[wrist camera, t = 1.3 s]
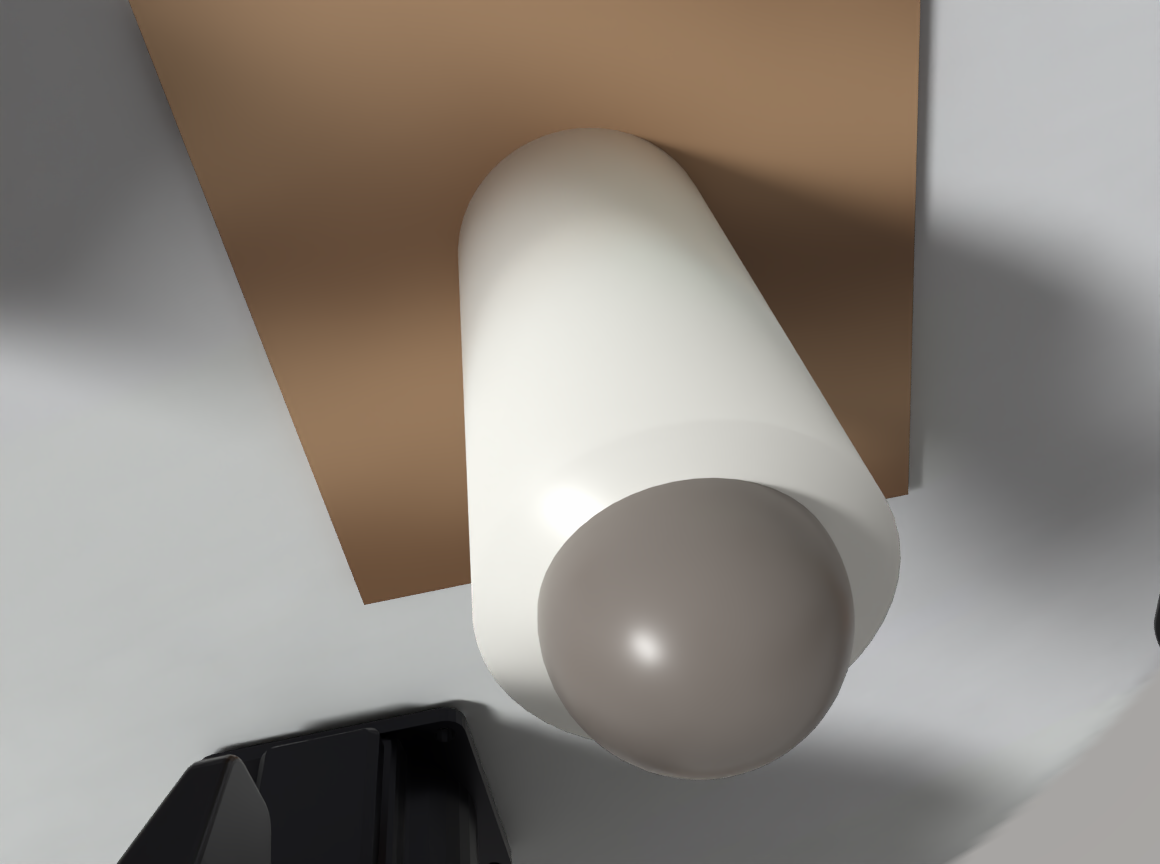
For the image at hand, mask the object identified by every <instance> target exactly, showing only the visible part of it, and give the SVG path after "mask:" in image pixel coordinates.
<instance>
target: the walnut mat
mask: <svg viewBox="0 0 1160 864" xmlns="http://www.w3.org/2000/svg"><path fill="white" fill-rule="evenodd" d="M129 3H130V5H131V8H132V11H133V13H134V16H135V18H136V21H137V23H138V26H139V29H140V31H141V34H142V36H143V39H144V41H145V44H146V46H147V49H148V52H149V54H150V57H151V59H152V62H153V64H154V67H155V70H156V72H157V75H158V77H159V80H160V82H161V85H162V87H163V90H164V93H165V95H166V98H167V100H168V103H169V105H170V108H171V111H172V113H173V116H174V118H175V121H176V123H177V126H178V129H179V131H180V134H181V136H182V139H183V141H184V144H185V146H186V149H187V152H188V154H189V157H190V159H191V162H192V164H193V167H194V170H195V172H196V175H197V177H198V180H199V182H200V185H201V187H202V190H203V193H204V195H205V198H206V200H207V203H208V205H209V208H210V211H211V213H212V216H213V218H214V221H215V223H216V226H217V228H218V231H219V234H220V236H221V239H222V241H223V244H224V246H225V249H226V252H227V254H228V257H229V259H230V262H231V264H232V267H233V269H234V272H235V275H236V277H237V280H238V282H239V285H240V287H241V290H242V293H243V295H244V298H245V300H246V303H247V305H248V308H249V310H250V313H251V316H252V318H253V321H254V323H255V326H256V328H257V331H258V334H259V336H260V339H261V341H262V344H263V346H264V349H265V351H266V354H267V357H268V359H269V362H270V364H271V367H272V369H273V372H274V375H275V377H276V380H277V382H278V385H279V387H280V390H281V392H282V395H283V398H284V400H285V403H286V405H287V408H288V410H289V413H290V416H291V418H292V421H293V423H294V426H295V428H296V431H297V434H298V436H299V439H300V441H301V444H302V446H303V449H304V451H305V454H306V457H307V459H308V462H309V464H310V467H311V469H312V472H313V475H314V477H315V480H316V482H317V485H318V487H319V490H320V492H321V495H322V498H323V500H324V503H325V505H326V508H327V510H328V513H329V516H330V518H331V521H332V523H333V526H334V528H335V531H336V533H337V536H338V539H339V541H340V544H341V546H342V549H343V551H344V554H345V557H346V559H347V562H348V564H349V567H350V569H351V572H352V574H353V577H354V580H355V582H356V585H357V587H358V590H359V592H360V595H361V598H362V600H363V603H364V605H366V604H371V603H376V602H381V601H385V600H390V599H395V598H400V597H405V596H410V595H415V594H420V593H425V592H430V591H435V590H440V589H445V588H449V587H454V586H459V585H464V584H469V583H471V566H470V541H469V516H468V491H467V466H466V441H465V416H464V391H463V366H462V341H461V316H460V291H459V266H458V243H459V233H460V229H461V225H462V221H463V217H464V215H465V212H466V210H467V207H468V205H469V202H470V200H471V199H472V197H473V195H474V193H475V192H476V190H477V188H478V187H479V185H480V184H481V183H482V181H483V180H484V179H485V177H486V176H487V175H488V174H489V173H490V172H491V171H492V170H493V169H494V168H495V167H496V166H497V165H498V164H499V163H500V162H501V161H502V160H503V159H504V158H506V157H507V156H508V155H510V154H511V153H512V152H514V151H515V150H517V149H518V148H520V147H522V146H524V145H525V144H527V143H529V142H531V141H533V140H536V139H538V138H540V137H543V136H545V135H548V134H552V133H556V132H560V131H563V130H570V129H578V128H603V129H611V130H617V131H621V132H625V133H628V134H632V135H635V136H637V137H639V138H642V139H644V140H646V141H649V142H650V143H652V144H654V145H655V146H657V147H659V148H660V149H662V150H663V151H665V152H666V153H667V154H668V155H669V156H671V157H672V158H673V159H674V160H675V161H676V162H677V163H678V164H679V165H680V166H681V167H682V168H683V169H684V170H685V171H686V173H687V174H688V176H689V177H690V178H691V180H692V181H693V183H694V184H695V186H696V187H697V189H698V191H699V192H700V194H701V196H702V197H703V199H704V201H705V202H706V204H707V206H708V207H709V209H710V211H711V212H712V214H713V215H714V217H715V219H716V220H717V222H718V224H719V225H720V227H721V229H722V230H723V232H724V234H725V235H726V237H727V238H728V240H729V242H730V243H731V245H732V247H733V248H734V250H735V252H736V253H737V255H738V257H739V258H740V260H741V261H742V263H743V265H744V266H745V268H746V270H747V271H748V273H749V275H750V276H751V278H752V280H753V281H754V283H755V285H756V286H757V288H758V289H759V291H760V293H761V294H762V296H763V298H764V299H765V301H766V303H767V304H768V306H769V308H770V309H771V311H772V312H773V314H774V316H775V317H776V319H777V321H778V322H779V324H780V326H781V327H782V329H783V331H784V332H785V334H786V335H787V337H788V339H789V340H790V342H791V344H792V345H793V347H794V349H795V350H796V352H797V354H798V355H799V357H800V359H801V360H802V362H803V363H804V365H805V367H806V368H807V370H808V372H809V373H810V375H811V377H812V378H813V380H814V382H815V383H816V385H817V386H818V388H819V390H820V391H821V393H822V395H823V396H824V398H825V400H826V401H827V403H828V405H829V406H830V408H831V410H832V411H833V413H834V414H835V416H836V418H837V419H838V421H839V423H840V424H841V426H842V428H843V429H844V431H845V433H846V434H847V436H848V437H849V439H850V441H851V442H852V444H853V446H854V447H855V449H856V451H857V452H858V454H859V456H860V457H861V459H862V460H863V462H864V464H865V465H866V467H867V469H868V470H869V472H870V474H871V475H872V477H873V479H874V480H875V482H876V484H877V485H878V487H879V488H880V490H881V492H882V493H883V495H884V497H885V499H887V498H892V497H897V496H902V495H907V494H908V479H909V438H910V398H911V358H912V317H913V277H914V237H915V196H916V156H917V115H918V75H919V35H920V0H129Z"/></svg>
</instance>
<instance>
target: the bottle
mask: <svg viewBox="0 0 1160 864" xmlns="http://www.w3.org/2000/svg"><path fill="white" fill-rule="evenodd" d="M458 266H459V291H460V316H461V341H462V366H463V391H464V416H465V441H466V466H467V491H468V516H469V541H470V566H471V591H472V616H473V628H474V632H475V637H476V641H477V645H478V648H479V650H480V653H481V655H482V657H483V660H484V662H485V664H486V666H487V668H488V669H489V671H490V672H491V674H492V675H493V677H494V679H495V680H496V682H497V683H498V684H499V685H500V686H501V687H502V688H503V689H504V691H505V692H506V693H507V694H508V695H509V696H510V697H511V698H512V699H513V700H514V701H516V702H517V703H518V704H519V705H520V706H522V707H523V708H524V709H525V710H527V711H528V712H530V713H531V714H533V715H535V716H536V717H538V718H539V719H541V720H543V721H544V722H546V723H548V724H551V725H553V726H555V727H557V728H559V729H561V730H564V731H566V732H569V733H572V734H575V735H578V736H581V737H584V738H587V739H592V740H594V741H595V742H597V743H598V744H599V745H600V746H602V747H603V748H605V749H606V750H607V751H609V752H610V753H612V754H613V755H615V756H616V757H618V758H619V759H621V760H623V761H625V762H627V763H630V764H632V765H634V766H636V767H638V768H641V769H643V770H645V771H648V772H651V773H655V774H658V775H663V776H668V777H673V778H679V779H689V780H710V779H720V778H726V777H732V776H736V775H740V774H744V773H747V772H749V771H752V770H755V769H758V768H760V767H762V766H765V765H767V764H769V763H771V762H773V761H774V760H776V759H778V758H780V757H781V756H783V755H784V754H786V753H787V752H789V751H790V750H791V749H793V748H794V747H795V746H796V745H797V744H799V743H800V742H801V741H802V740H803V739H805V738H806V737H807V736H808V735H809V734H810V733H811V732H812V731H813V730H814V729H815V728H816V726H817V725H818V724H819V723H820V721H821V720H822V719H823V717H824V716H825V715H826V713H827V712H828V710H829V709H830V707H831V705H832V704H833V702H834V700H835V699H836V697H837V695H838V693H839V691H840V688H841V686H842V683H843V681H844V678H845V676H846V673H847V671H848V668H849V667H850V666H851V665H852V664H853V663H854V662H855V661H856V660H857V658H858V657H859V656H860V655H861V654H862V652H863V651H864V650H865V648H866V647H867V646H868V645H869V643H870V642H871V641H872V639H873V638H874V636H875V634H876V633H877V631H878V630H879V628H880V626H881V625H882V623H883V621H884V619H885V617H886V615H887V612H888V610H889V608H890V605H891V603H892V601H893V598H894V594H895V590H896V586H897V583H898V578H899V569H900V559H901V557H900V542H899V535H898V531H897V527H896V523H895V519H894V516H893V514H892V512H891V509H890V507H889V505H888V503H887V501H886V499H885V497H884V495H883V493H882V492H881V490H880V488H879V487H878V485H877V484H876V482H875V480H874V479H873V477H872V475H871V474H870V472H869V470H868V469H867V467H866V465H865V464H864V462H863V460H862V459H861V457H860V456H859V454H858V452H857V451H856V449H855V447H854V446H853V444H852V442H851V441H850V439H849V437H848V436H847V434H846V433H845V431H844V429H843V428H842V426H841V424H840V423H839V421H838V419H837V418H836V416H835V414H834V413H833V411H832V410H831V408H830V406H829V405H828V403H827V401H826V400H825V398H824V396H823V395H822V393H821V391H820V390H819V388H818V386H817V385H816V383H815V382H814V380H813V378H812V377H811V375H810V373H809V372H808V370H807V368H806V367H805V365H804V363H803V362H802V360H801V359H800V357H799V355H798V354H797V352H796V350H795V349H794V347H793V345H792V344H791V342H790V340H789V339H788V337H787V335H786V334H785V332H784V331H783V329H782V327H781V326H780V324H779V322H778V321H777V319H776V317H775V316H774V314H773V312H772V311H771V309H770V308H769V306H768V304H767V303H766V301H765V299H764V298H763V296H762V294H761V293H760V291H759V289H758V288H757V286H756V285H755V283H754V281H753V280H752V278H751V276H750V275H749V273H748V271H747V270H746V268H745V266H744V265H743V263H742V261H741V260H740V258H739V257H738V255H737V253H736V252H735V250H734V248H733V247H732V245H731V243H730V242H729V240H728V238H727V237H726V235H725V234H724V232H723V230H722V229H721V227H720V225H719V224H718V222H717V220H716V219H715V217H714V215H713V214H712V212H711V211H710V209H709V207H708V206H707V204H706V202H705V201H704V199H703V197H702V196H701V194H700V192H699V191H698V189H697V187H696V186H695V184H694V183H693V181H692V180H691V178H690V177H689V176H688V174H687V173H686V171H685V170H684V169H683V168H682V167H681V166H680V165H679V164H678V163H677V162H676V161H675V160H674V159H673V158H672V157H671V156H669V155H668V154H667V153H666V152H665V151H663V150H662V149H660V148H659V147H657V146H655V145H654V144H652V143H650V142H649V141H646V140H644V139H642V138H639V137H637V136H635V135H632V134H628V133H625V132H621V131H617V130H611V129H603V128H578V129H570V130H563V131H560V132H556V133H552V134H548V135H545V136H543V137H540V138H538V139H536V140H533V141H531V142H529V143H527V144H525V145H524V146H522V147H520V148H518V149H517V150H515V151H514V152H512V153H511V154H510V155H508V156H507V157H506V158H504V159H503V160H502V161H501V162H500V163H499V164H498V165H497V166H496V167H495V168H494V169H493V170H492V171H491V172H490V173H489V174H488V175H487V176H486V177H485V179H484V180H483V181H482V183H481V184H480V185H479V187H478V188H477V190H476V192H475V193H474V195H473V197H472V199H471V200H470V202H469V205H468V207H467V210H466V212H465V215H464V217H463V221H462V225H461V229H460V233H459V243H458Z"/></svg>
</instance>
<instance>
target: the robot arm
mask: <svg viewBox="0 0 1160 864" xmlns="http://www.w3.org/2000/svg"><path fill="white" fill-rule="evenodd" d="M1154 630H1155V635H1156V639H1157V641H1158V644H1159V646H1160V595H1159V600H1158V605H1157V609H1156V614H1155V619H1154ZM441 728H448V729H441ZM117 864H512V860H511V850H510V847H509V844H508V841H507V838H506V835H505V832H504V829H503V827H502V824H501V821H500V818H499V815H498V812H497V809H496V806H495V803H494V800H493V797H492V794H491V791H490V789H489V786H488V783H487V780H486V777H485V774H484V771H483V768H482V765H481V762H480V759H479V756H478V753H477V751H476V748H475V745H474V742H473V739H472V736H471V733H470V730H469V727H468V724H467V721H466V718H465V717H464V715H463V714H462V713H461V712H460V711H458V710H456V709H453V708H438V709H433V710H428V711H423V712H418V713H413V714H408V715H403V716H398V717H394V718H389V719H384V720H379V721H374V722H369V723H364V724H359V725H354V726H349V727H345V728H340V729H335V730H330V731H325V732H320V733H315V734H310V735H305V736H300V737H296V738H291V739H286V740H281V741H276V742H271V743H266V744H261V745H256V746H251V747H247V748H242V749H237V750H232V751H227V752H222V753H217V754H212V755H210V756H207V757H205V758H204V759H202V760H201V761H197V762H195V763H193V764H192V765H191V766H190V767H189V768H188V769H187V770H186V771H185V772H184V774H183V775H182V776H181V778H180V779H179V780H178V782H177V783H176V784H175V786H174V787H173V788H172V790H171V791H170V793H169V794H168V795H167V797H166V798H165V799H164V801H163V802H162V803H161V805H160V806H159V807H158V809H157V810H156V811H155V813H154V814H153V815H152V817H151V818H150V819H149V821H148V822H147V824H146V825H145V826H144V828H143V829H142V830H141V832H140V833H139V834H138V836H137V837H136V838H135V840H134V841H133V842H132V844H131V845H130V846H129V848H128V849H127V850H126V852H125V853H124V854H123V856H122V857H121V859H120V860H119V861H118V863H117Z"/></svg>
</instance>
